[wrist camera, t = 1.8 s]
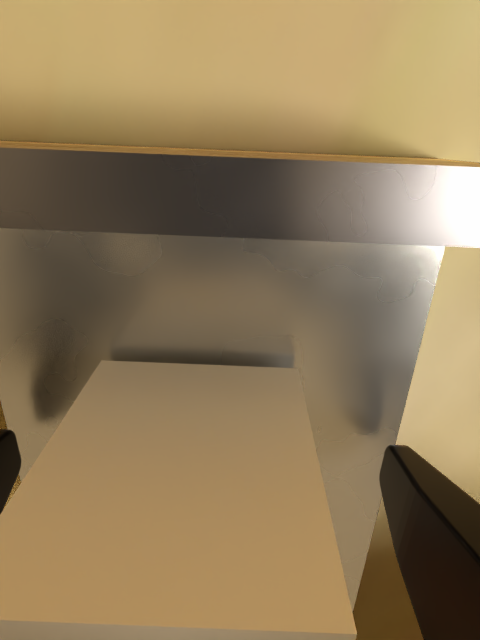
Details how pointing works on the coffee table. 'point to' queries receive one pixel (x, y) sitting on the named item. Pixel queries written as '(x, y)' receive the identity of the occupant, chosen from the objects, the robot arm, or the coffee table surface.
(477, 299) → the coffee table surface
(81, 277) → the gray display stand
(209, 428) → the cream rectangular block
